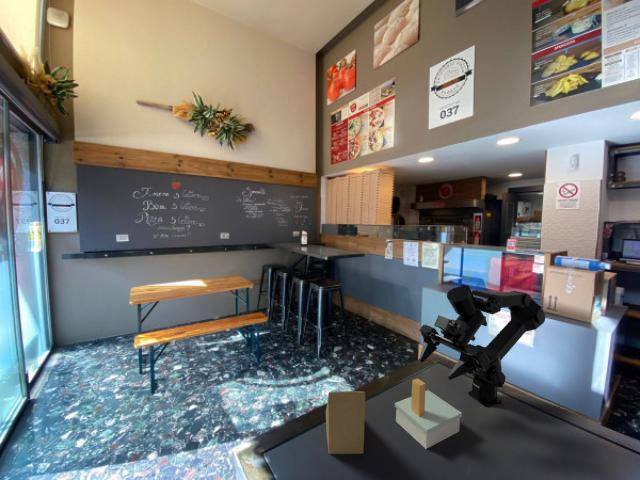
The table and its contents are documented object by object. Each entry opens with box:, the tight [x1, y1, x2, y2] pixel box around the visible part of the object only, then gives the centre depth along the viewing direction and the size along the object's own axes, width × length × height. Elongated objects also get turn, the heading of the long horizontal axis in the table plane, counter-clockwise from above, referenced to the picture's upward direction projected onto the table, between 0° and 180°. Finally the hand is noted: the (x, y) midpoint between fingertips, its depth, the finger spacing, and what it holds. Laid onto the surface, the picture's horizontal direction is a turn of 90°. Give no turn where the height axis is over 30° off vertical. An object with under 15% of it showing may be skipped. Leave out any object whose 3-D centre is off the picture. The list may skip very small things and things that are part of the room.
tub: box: [395, 407, 461, 450], centre depth 71 cm, size 12×10×4 cm
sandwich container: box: [325, 390, 366, 455], centre depth 70 cm, size 9×15×15 cm, turn 1°
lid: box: [394, 378, 463, 434], centre depth 71 cm, size 13×11×10 cm
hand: (433, 369), depth 72 cm, fingers open, 9 cm apart
